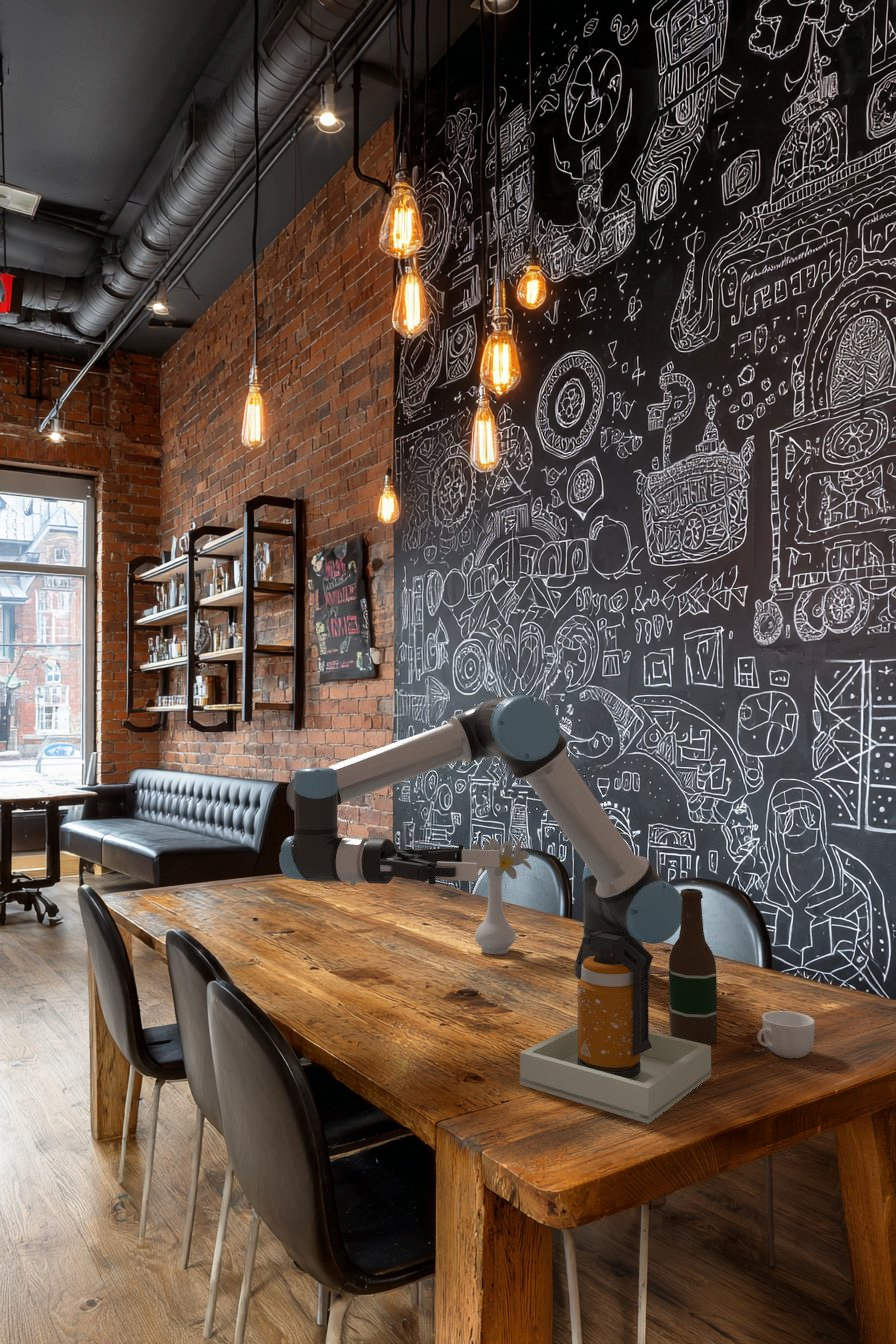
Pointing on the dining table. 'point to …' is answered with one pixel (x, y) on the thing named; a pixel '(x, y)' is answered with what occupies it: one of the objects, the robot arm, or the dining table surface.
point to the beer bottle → (692, 977)
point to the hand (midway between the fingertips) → (488, 865)
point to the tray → (641, 1098)
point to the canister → (613, 1005)
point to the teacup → (787, 1033)
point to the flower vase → (498, 899)
